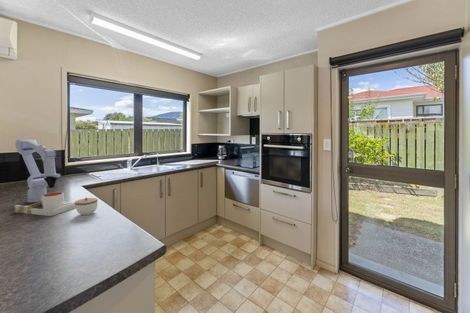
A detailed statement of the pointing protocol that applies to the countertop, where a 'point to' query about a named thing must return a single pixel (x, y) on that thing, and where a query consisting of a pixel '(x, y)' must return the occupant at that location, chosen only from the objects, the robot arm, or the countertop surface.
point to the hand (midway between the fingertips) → (51, 187)
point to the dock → (55, 211)
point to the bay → (27, 207)
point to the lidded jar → (86, 206)
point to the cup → (53, 200)
